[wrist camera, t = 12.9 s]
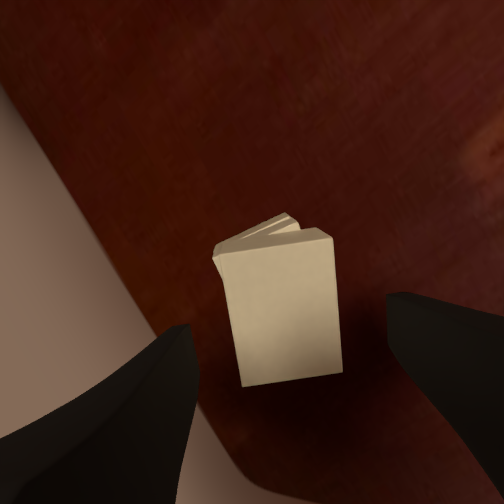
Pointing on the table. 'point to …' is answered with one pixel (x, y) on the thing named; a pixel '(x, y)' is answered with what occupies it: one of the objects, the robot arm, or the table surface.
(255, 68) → the table surface
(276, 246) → the cream rectangular block
